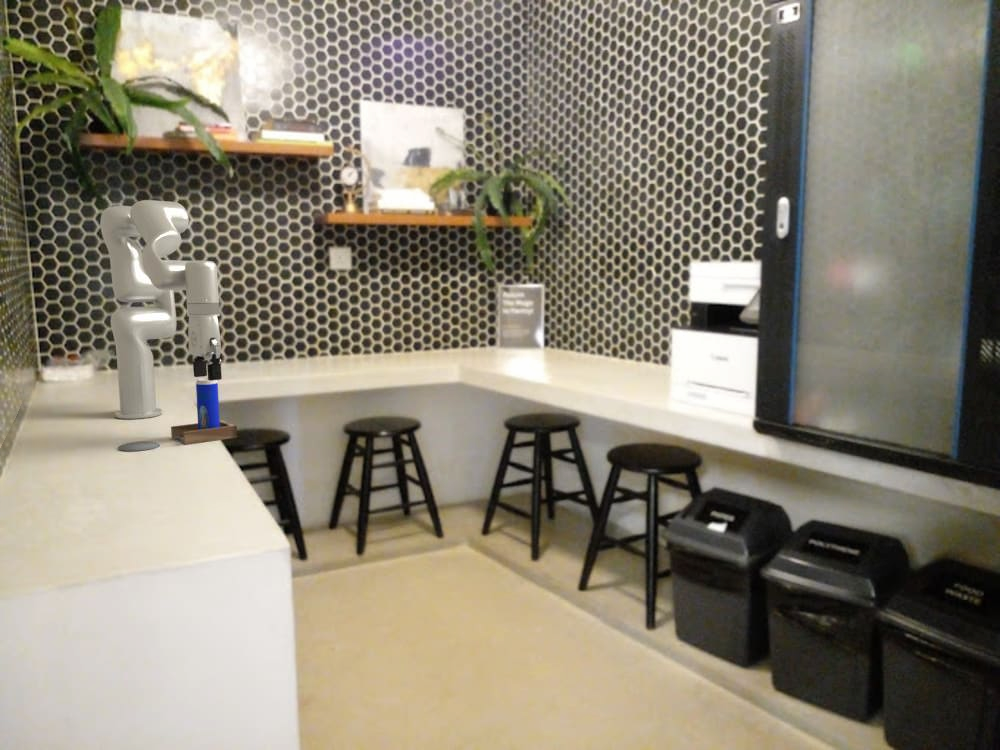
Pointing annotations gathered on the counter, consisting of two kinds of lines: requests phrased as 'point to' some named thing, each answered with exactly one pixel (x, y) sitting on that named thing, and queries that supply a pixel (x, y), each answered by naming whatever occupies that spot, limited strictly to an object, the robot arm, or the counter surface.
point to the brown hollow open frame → (203, 433)
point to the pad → (138, 446)
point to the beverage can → (207, 403)
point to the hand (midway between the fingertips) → (207, 378)
